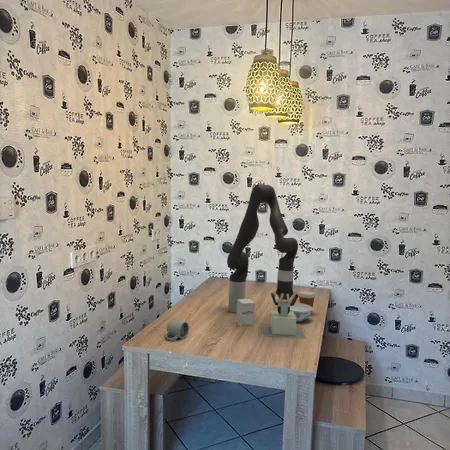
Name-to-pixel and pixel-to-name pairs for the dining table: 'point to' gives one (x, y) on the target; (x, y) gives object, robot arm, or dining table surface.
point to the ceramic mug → (177, 329)
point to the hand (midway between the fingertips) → (283, 313)
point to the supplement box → (245, 312)
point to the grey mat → (268, 333)
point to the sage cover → (283, 321)
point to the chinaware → (301, 311)
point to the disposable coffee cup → (306, 298)
